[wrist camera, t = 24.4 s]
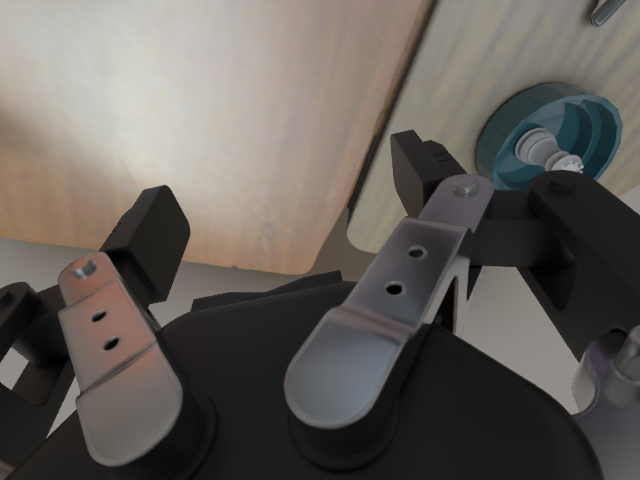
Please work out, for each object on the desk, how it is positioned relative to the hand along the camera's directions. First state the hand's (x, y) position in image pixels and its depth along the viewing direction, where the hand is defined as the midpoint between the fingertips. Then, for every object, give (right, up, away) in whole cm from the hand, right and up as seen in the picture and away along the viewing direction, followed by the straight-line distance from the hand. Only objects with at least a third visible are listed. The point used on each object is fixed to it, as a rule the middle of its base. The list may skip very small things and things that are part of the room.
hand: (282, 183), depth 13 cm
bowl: (+28, +11, +32) cm, 44 cm away
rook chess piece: (+28, +10, +32) cm, 44 cm away
